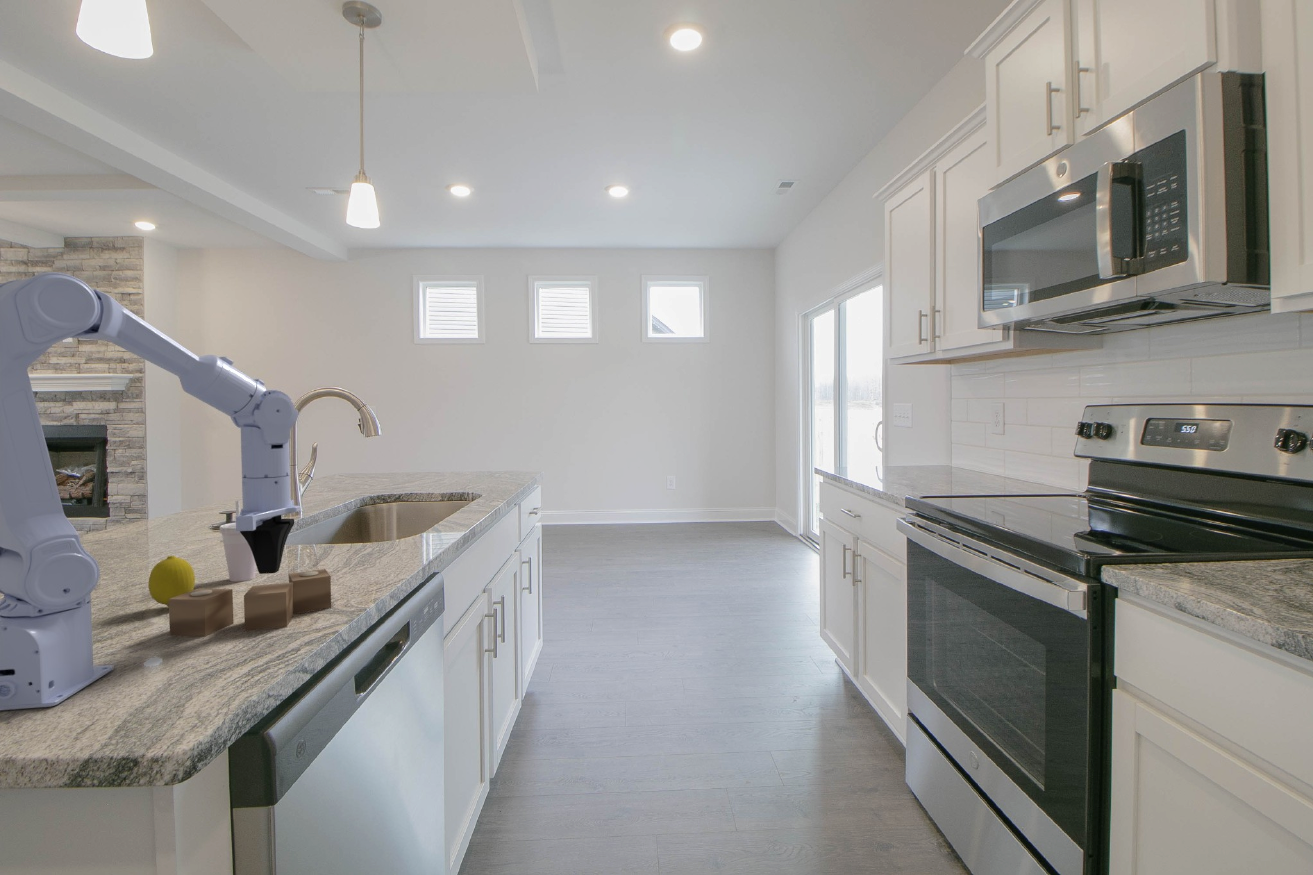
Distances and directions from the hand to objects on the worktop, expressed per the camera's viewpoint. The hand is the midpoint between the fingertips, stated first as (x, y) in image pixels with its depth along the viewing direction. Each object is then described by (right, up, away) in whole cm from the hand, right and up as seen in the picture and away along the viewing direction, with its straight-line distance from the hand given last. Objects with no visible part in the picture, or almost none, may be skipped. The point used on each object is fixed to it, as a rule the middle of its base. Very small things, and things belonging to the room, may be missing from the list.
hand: (269, 572), depth 88 cm
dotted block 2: (+2, -7, +8) cm, 11 cm away
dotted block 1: (-8, -7, -2) cm, 11 cm away
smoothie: (-19, -6, +23) cm, 30 cm away
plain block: (0, -7, 0) cm, 7 cm away
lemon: (-19, -7, +7) cm, 21 cm away
